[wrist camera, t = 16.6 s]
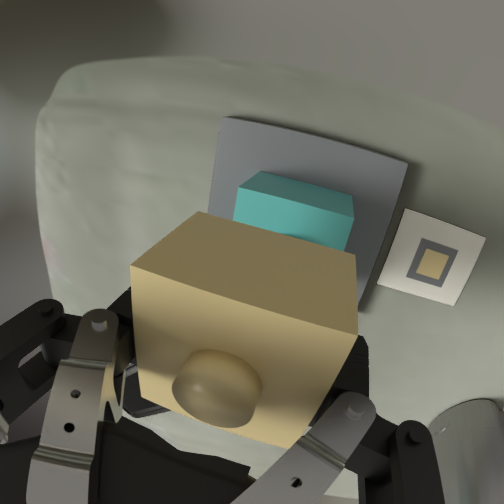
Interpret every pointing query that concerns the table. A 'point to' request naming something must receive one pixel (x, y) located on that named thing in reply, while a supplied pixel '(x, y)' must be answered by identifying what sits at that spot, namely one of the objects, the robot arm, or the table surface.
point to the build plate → (311, 178)
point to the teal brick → (295, 209)
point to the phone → (137, 396)
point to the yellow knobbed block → (242, 326)
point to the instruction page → (430, 258)
